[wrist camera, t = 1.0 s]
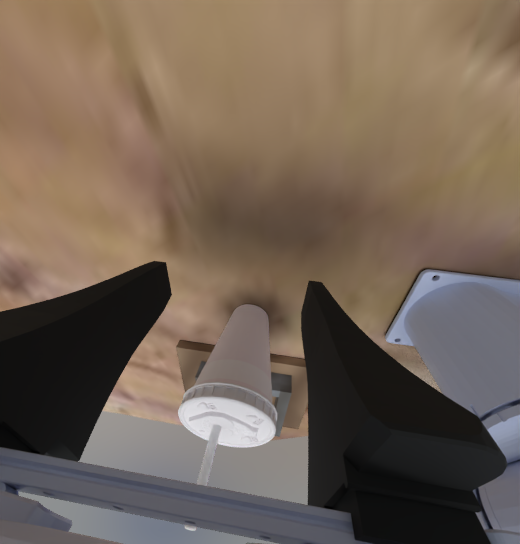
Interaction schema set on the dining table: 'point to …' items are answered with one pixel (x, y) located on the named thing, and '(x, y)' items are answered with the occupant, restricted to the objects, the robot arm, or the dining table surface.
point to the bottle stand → (284, 380)
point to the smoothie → (233, 389)
